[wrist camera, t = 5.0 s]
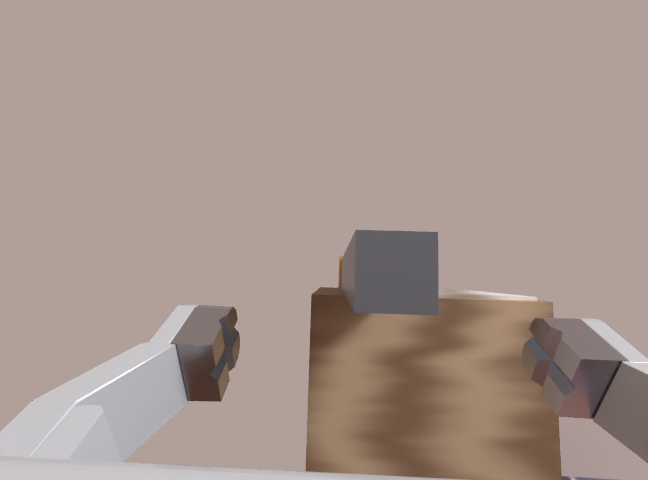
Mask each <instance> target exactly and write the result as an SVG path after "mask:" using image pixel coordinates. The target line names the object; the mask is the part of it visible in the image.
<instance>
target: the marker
mask: <svg viewBox="0 0 648 480" xmlns="http://www.w3.org/2000/svg"><path fill="white" fill-rule="evenodd" d="M338 286H339V287H338V288H339V289H341V291H342V292H343V294H344V296H345V298H346V299H347V301H348V303H349V304H350V306H351V308H352V310H353V311H354V313H377V314H407V315H437V316H439V297H438V232H413V231H412V232H411V231H373V230H372V231H371V230H356V231H355V233H354V235H353V237H352V239H351V241H350V243H349V245H348V247H347V250H346V252H345V254H344V256H340V257H339V285H338Z"/></svg>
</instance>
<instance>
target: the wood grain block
mask: <svg viewBox="0 0 648 480" xmlns="http://www.w3.org/2000/svg"><path fill="white" fill-rule="evenodd" d="M438 297H439V316H437V315H407V314H377V313H354V311H353V310H352V308H351V306H350V304H349V303H348V301H347V299H346V298H345V296H344V294H343V292H342V291H341V289H339V288H323V287H322V288H319V289H318V290H317V291H315V292H314V293H313V294H312V300H311V329H310V359H309V389H308V390H309V391H308V419H307V420H308V421H307V449H306V471H309V472H328V473H347V474H367V475H386V476H406V477H425V478H445V479H465V480H562V478H561V458H560V438H559V419H558V416H556V415H555V413H554V412H553V410H552V409H551V408H550V406H549V405H548V403H547V402H546V400H545V399H544V397H543V396H542V395H541V388H542V386H540V385H539V384H537V383H536V382H534V381H533V380H531V379H530V377H529V376H528V374H527V373H526V371H525V368H524V366H523V362H522V350H523V346H524V343H525V342H526V341H528V340H529V339H530V338H531V337H532V335H531V333H530V331H529V328H530V325H531V322H532V321H533V320H534V319H535V318H554V317H553V302H547V301H538V300H537V297H531V296H521V295H511V294H500V293H490V292H481V291H471V290H449V289H438Z"/></svg>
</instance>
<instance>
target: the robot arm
mask: <svg viewBox="0 0 648 480" xmlns="http://www.w3.org/2000/svg"><path fill="white" fill-rule="evenodd" d="M236 322H237V313H236V309H235V308H234V307H224V306H223V307H222V306H205V305H199V306H198V305H179V306H177V307H176V308H175V310H174V311H173V312H172V313H171V315H170V316H169V317H168V319H167V320H166V321H165V322H164V324H163V325H162V326H161V327H160V329H159V330H158V331H157V332H156V334H155V335H154V336H153V337H152V339H151V340H150V341H149V342H148V343H142V344H139V345H138V346H136V347H134V348H132V349H130V350H128V351H126V352H124V353H122V354H120V355H118V356H116V357H115V358H113V359H111V360H109V361H107V362H105V363H103V364H101V365H99V366H97V367H96V368H94V369H92V370H90V371H88V372H86V373H84V374H82V375H80V376H79V377H77V378H75V379H73V380H71V381H69V382H67V383H65V384H63V385H61V386H59V387H58V388H56V389H54V390H52V391H50V392H48V393H46V394H44V395H42V396H40V397H38V398H37V399H35V400H33V401H32V402H31V403H30V404H29V405H28V406H27V407H26V408H25V409H24V410H23V411H22V412H21V413H19V415H17V416H16V417H15V418H14V419H13V420H12V421H11V422H10V423H9V424H8V425H7V426H6V427H5V428H4V429H3V430H2V431H1V432H0V480H465V479H445V478H425V477H406V476H386V475H367V474H347V473H328V472H309V471H289V470H269V469H250V468H231V467H210V466H192V465H172V464H151V463H132V462H123V461H124V460H125V459H126V458H128V457H129V456H130V455H131V454H132V453H133V452H134V451H135V450H136V449H137V448H138V447H140V446H141V445H142V444H143V443H144V442H145V441H146V440H147V439H149V438H150V437H151V436H152V435H153V434H154V433H155V432H156V431H157V430H158V429H160V428H161V427H162V426H163V425H164V424H165V423H166V422H167V421H168V420H169V419H171V418H172V416H174V415H175V414H176V413H177V412H178V411H179V410H180V409H182V408H183V407H184V406H185V405H186V404H187V403H188V401H221V400H222V398H223V395H224V393H225V390H226V388H227V385H228V382H229V373H228V372H229V371H230V370H231V369H233V368H234V367H235V365H236V362H237V359H238V354H239V348H240V337H239V332H238V331H237V330H236V329H235V328H234V326H235V324H236ZM529 331H530V333H531V335H532V337H531V338H530V339H529V340H528V341H526V342H525V343H524V346H523V350H522V362H523V366H524V368H525V371H526V373H527V374H528V376H529V377H530V379H531V380H533V381H534V382H536V383H537V384H539V385H540V386H542V388H541V395H542V396H543V397H544V399H545V400H546V402H547V403H548V405H549V406H550V408H551V409H552V410H553V412H554V413H555V415H556V416H559V417H573V418H587V419H593V421H594V422H595V423H597V424H598V425H599V426H601V427H602V428H603V429H604V430H606V431H607V432H608V433H610V434H611V435H612V436H613V437H615V438H616V439H617V440H619V441H620V442H621V443H622V444H624V445H625V446H626V447H628V448H629V449H630V450H632V451H633V452H634V453H635V454H637V455H638V456H639V457H640V458H642V459H643V460H644V461H646V462H647V463H648V359H647V358H646V357H645V356H643V355H642V354H641V353H640V352H638V351H637V350H636V349H635V348H634V347H633V346H632V345H630V344H629V343H628V342H627V341H625V340H624V339H623V338H622V337H621V336H619V335H618V334H617V333H616V332H615V331H613V330H612V329H611V328H610V327H609V326H607V325H606V324H605V323H604V322H603V321H601V320H598V319H595V318H574V319H565V318H563V319H562V318H561V319H560V318H535V319H534V320H533V321H532V322H531V325H530V328H529Z"/></svg>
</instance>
